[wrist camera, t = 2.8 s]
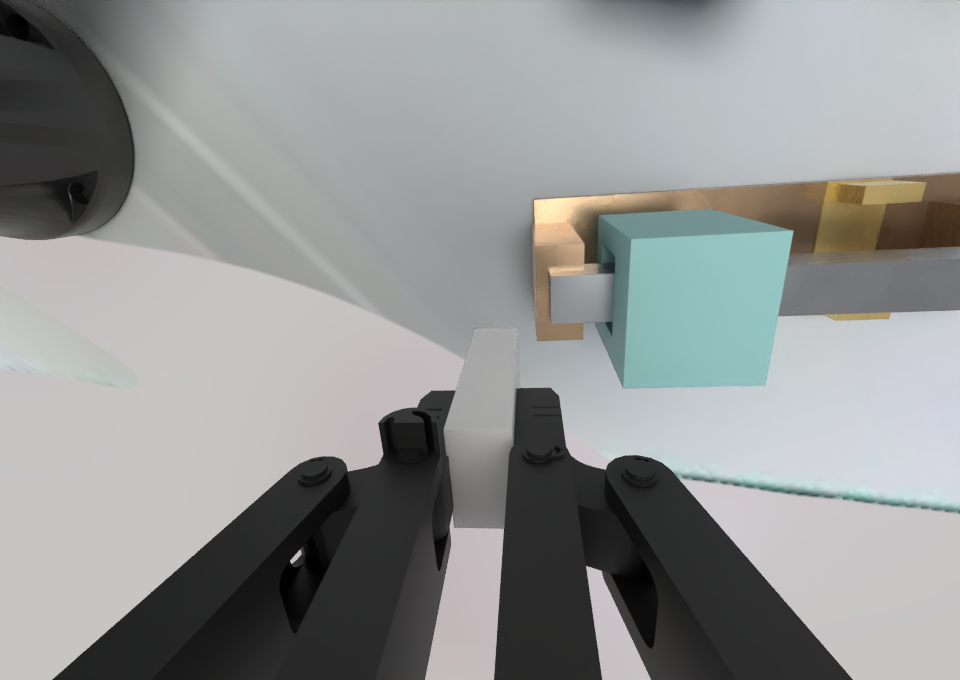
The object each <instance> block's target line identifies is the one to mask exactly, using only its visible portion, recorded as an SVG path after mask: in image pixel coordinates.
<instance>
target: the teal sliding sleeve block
mask: <svg viewBox="0 0 960 680" xmlns="http://www.w3.org/2000/svg"><path fill="white" fill-rule="evenodd" d="M792 237H793V230H789V229H785V228H781V227H778V226H774V225H770V224H766V223H762V222H759V221H755V220H751V219H747V218H743V217H740V216H736V215H732V214H728V213H724V212H721V211H717V210H713V209H697V210H680V211H662V212H645V213H628V214H610V215H599V221H598V257H597V263H615V281H614V304H613V322H596V327H597V330H598V332H599V334H600V336H601V339H602V341H603V343H604V346H605V348H606V350H607V352H608V355H609V357H610V359H611V362H612V364H613V366H614V368H615V371H616V373H617V375H618V377H619V380H620V382H621V384H622V387H623V388H660V387H715V386H765V385H766V380H767V374H768V369H769V363H770V358H771V352H772V347H773V341H774V336H775V330H776V325H777V319H778V314H779V308H780V303H781V297H782V292H783V286H784V281H785V275H786V270H787V264H788V259H789V253H790V248H791V242H792Z"/></svg>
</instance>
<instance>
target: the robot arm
mask: <svg viewBox="0 0 960 680" xmlns="http://www.w3.org/2000/svg"><path fill="white" fill-rule="evenodd" d="M132 165H133V151H132V141H131V135H130V130H129V126H128V122H127V118H126V115H125V112H124V109H123V106H122V104H121V101H120V99H119V97H118V94H117V92H116V90H115V88H114V86H113V84H112V83H111V81H110V79H109V77H108V76H107V74H106V72H105V71H104V69H103V68H102V66H101V65H100V63H99V62H98V60H97V59H96V58H95V56H94V55H93V54H92V52H91V51H90V50H89V49H88V48H87V47H86V45H85V44H84V43H83V42H82V41H81V40H80V39H79V38H78V37H77V36H76V35H75V34H74V33H73V32H72V31H71V30H70V29H69V28H68V27H66V26H65V25H64V24H63V23H62V22H60V21H59V20H58V19H56V18H55V17H54V16H52V15H51V14H49V13H48V12H46V11H45V10H43V9H41V8H40V7H38V6H36V5H34V4H32V3H30V2H28V1H26V0H0V236H3V237H10V238H18V239H25V240H48V239H56V238H62V237H68V236H74V235H79V234H84V233H87V232H90V231H92V230H94V229H96V228H98V227H100V226H102V225H103V224H104V223H106V222H107V221H108V220H109V219H110V218H111V217H112V216H113V215H114V214H115V213H116V212H117V210H118V209H119V208H120V206H121V204H122V203H123V201H124V199H125V197H126V194H127V191H128V188H129V185H130V181H131V175H132ZM378 424H379V430H380V435H381V442H382V448H383V454H384V455H383V457H382V459H381V461H380V463H379V464H378V465H376V466H372V467H368V468H364V469H359V470H354V471H349V472H348V471H347V466H346V464H345V463H344V462H343V460H341V459H339V458H336V457H325V456H324V457H318V458H313V459H310V460H308V461H305V462H303V463H300V464H299V465H297V466H296V467H294V468H293V469H292V470H290V471H289V472H288V473H287V474H286V475H284V476H283V478H281V479H280V480H279V481H278V482H277V483H275V484H274V485H273V486H272V487H271V488H270V489H269V490H267V491H266V492H265V493H264V494H263V495H262V496H261V497H260V498H258V499H257V500H256V501H255V502H254V503H253V504H251V505H250V506H249V507H248V508H247V509H246V510H245V511H244V512H242V513H241V514H240V515H239V516H238V517H237V518H236V519H234V520H233V521H232V522H231V523H230V524H229V525H228V526H226V527H225V528H224V529H223V530H222V531H221V532H220V533H219V534H217V535H216V536H215V537H214V538H213V539H212V540H211V541H210V542H208V543H207V544H206V545H205V546H204V547H203V548H202V549H200V550H199V551H198V552H197V553H196V554H195V555H194V556H192V557H191V558H190V559H189V560H188V561H187V562H186V563H185V564H183V565H182V566H181V567H180V568H179V569H178V570H177V571H175V572H174V573H173V574H172V575H171V576H170V577H169V578H167V579H166V580H165V581H164V582H163V583H162V584H161V585H159V587H157V588H156V589H155V590H154V591H153V592H151V593H150V594H149V595H148V596H147V597H146V598H145V599H144V600H142V601H141V602H140V603H139V604H138V605H137V606H136V607H135V608H133V609H132V610H131V611H130V612H129V613H128V614H127V615H126V616H124V617H123V618H122V619H121V620H120V621H119V622H117V623H116V624H115V625H114V626H113V627H112V628H111V629H109V630H108V631H107V632H106V633H105V634H104V635H103V636H102V637H100V638H99V639H98V640H97V641H96V642H95V643H94V644H92V645H91V646H90V647H89V648H88V649H87V650H86V651H84V652H83V653H82V654H81V655H80V656H79V657H78V658H76V660H74V661H73V662H72V663H71V664H70V665H69V666H67V668H65V669H64V670H63V671H62V672H61V673H60V674H58V675H57V676H56V677H55V678H54V679H53V680H425V676H426V670H427V666H428V661H429V656H430V650H431V645H432V640H433V635H434V630H435V624H436V619H437V615H438V609H439V604H440V599H441V594H442V589H443V584H444V579H445V574H446V568H447V563H448V558H449V553H450V548H451V536H450V527H449V526H450V521H451V517H452V512H453V521H454V527H455V528H456V527H457V528H501V529H503V528H504V540H503V555H502V570H501V584H500V599H499V600H500V601H499V614H498V631H497V646H496V661H495V675H494V680H602V676H601V669H600V662H599V655H598V648H597V641H596V634H595V627H594V620H593V613H592V606H591V599H590V592H589V586H588V578H587V571H586V566H588V567H592V568H595V569H598V570H602V573H603V577H604V580H605V583H606V585H607V587H608V589H609V591H610V593H611V595H612V597H613V600H614V601H615V604H616V606H617V608H618V610H619V612H620V614H621V616H622V618H623V621H624V623H625V625H626V627H627V629H628V631H629V633H630V636H631V638H632V640H633V642H634V644H635V646H636V648H637V650H638V653H639V655H640V657H641V659H642V661H643V663H644V665H645V667H646V670H647V672H648V674H649V676H650V678H651V680H853V679H852V678H851V677H850V676H849V675H848V674H847V673H846V671H845V670H844V669H843V668H842V667H841V666H840V665H839V663H838V662H837V661H836V660H835V659H834V657H833V656H832V655H831V654H830V653H829V652H828V651H827V650H826V648H825V647H824V646H823V645H822V644H821V642H820V641H819V640H818V639H817V638H816V637H815V636H814V634H813V633H812V632H811V631H810V630H809V629H808V628H807V626H806V625H805V624H804V623H803V622H802V621H801V619H800V618H799V617H798V616H797V615H796V614H795V613H794V611H793V610H792V609H791V608H790V607H789V606H788V605H787V603H786V602H785V601H784V600H783V599H782V598H781V596H780V595H779V594H778V593H777V592H776V591H775V589H774V588H773V587H772V586H771V585H770V584H769V583H768V582H767V580H766V579H765V578H764V577H763V576H762V575H761V573H760V572H759V571H758V570H757V569H756V568H755V567H754V565H753V564H752V563H751V562H750V561H749V560H748V558H747V557H746V556H745V555H744V554H743V553H742V552H741V550H740V549H739V548H738V547H737V546H736V545H735V544H734V542H733V541H732V540H731V539H730V538H729V536H727V534H726V533H725V532H724V531H723V530H722V528H721V527H720V526H719V525H718V524H717V523H716V522H715V521H714V519H713V518H712V517H711V516H710V515H709V514H708V512H707V511H706V510H705V509H704V508H703V507H702V505H701V504H700V503H699V502H698V501H697V500H696V498H695V497H694V496H693V495H692V494H691V493H690V492H689V491H688V489H687V488H686V487H685V486H684V485H683V484H682V482H681V481H680V480H679V479H678V478H677V477H676V475H675V474H674V473H673V472H672V471H671V470H670V469H669V468H668V467H666V466H665V465H664V464H663V463H661V462H659V461H656V460H654V459H652V458H648V457H643V456H638V455H633V456H622V457H619V458H616V459H614V460H613V461H611V462H610V463H609V464H608V466H607V468H606V470H604V469H600V468H595V467H591V466H588V465H585V464H583V463H581V462H579V461H577V460H575V459H574V458H573V457H572V456H571V455H570V453H569V451H568V449H567V448H566V444H565V437H564V429H563V422H562V415H561V408H560V400H559V396H558V395H557V394H556V393H555V392H554V391H553V390H552V389H551V388H520V374H519V348H518V327H507V328H475V331H474V334H473V337H472V340H471V343H470V347H469V350H468V353H467V356H466V359H465V363H464V366H463V369H462V373H461V375H460V379H459V382H458V385H457V388H456V391H431V392H430V393H428V394H427V395H426V396H424V397H423V398H422V399H421V400H420V403H419V405H418V407H417V408H406V409H401V410H398V411H394V412H392V413H390V414H388V415H386V416H385V417H383V419H382V420H381V421H380V422H379V423H378ZM300 549H301V553H302V555H301V556H300V557H299V558H298V559H297V560H296V561H295V562H294V563H293V564H291V563H290V560H291V559H292V558H293V557H294V555H295V554H296V553H297V552H298V551H299V550H300Z"/></svg>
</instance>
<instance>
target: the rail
mask: <svg viewBox="0 0 960 680" xmlns="http://www.w3.org/2000/svg"><path fill="white" fill-rule="evenodd" d="M697 209H713V210H717V211H721V212H724V213H728V214H732V215H736V216H740V217H743V218H747V219H751V220H755V221H759V222H762V223H766V224H770V225H774V226H778V227H781V228H785V229H789V230H793V237H792V242H791V248H790V253H789V259H788V264H787V270H786V275H785V281H784V286H783V292H782V297H781V303H780V308H779V314H778V316H797V315H825V316H827V317H829V318H831V319H833V320H835V321H838V320H870V319H889V317H890V313H891V312H917V311H947V310H960V173H945V174H929V175H913V176H897V177H881V178H865V179H849V180H832V181H816V182H800V183H784V184H768V185H752V186H736V187H720V188H704V189H688V190H672V191H656V192H640V193H624V194H607V195H591V196H575V197H559V198H543V199H534V222H531V225H532V265H533V297H534V310H535V323H536V336H537V341H551V340H583V323H588V322H613V304H614V281H615V263H597V257H598V221H599V215H610V214H628V213H645V212H662V211H680V210H697Z"/></svg>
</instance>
